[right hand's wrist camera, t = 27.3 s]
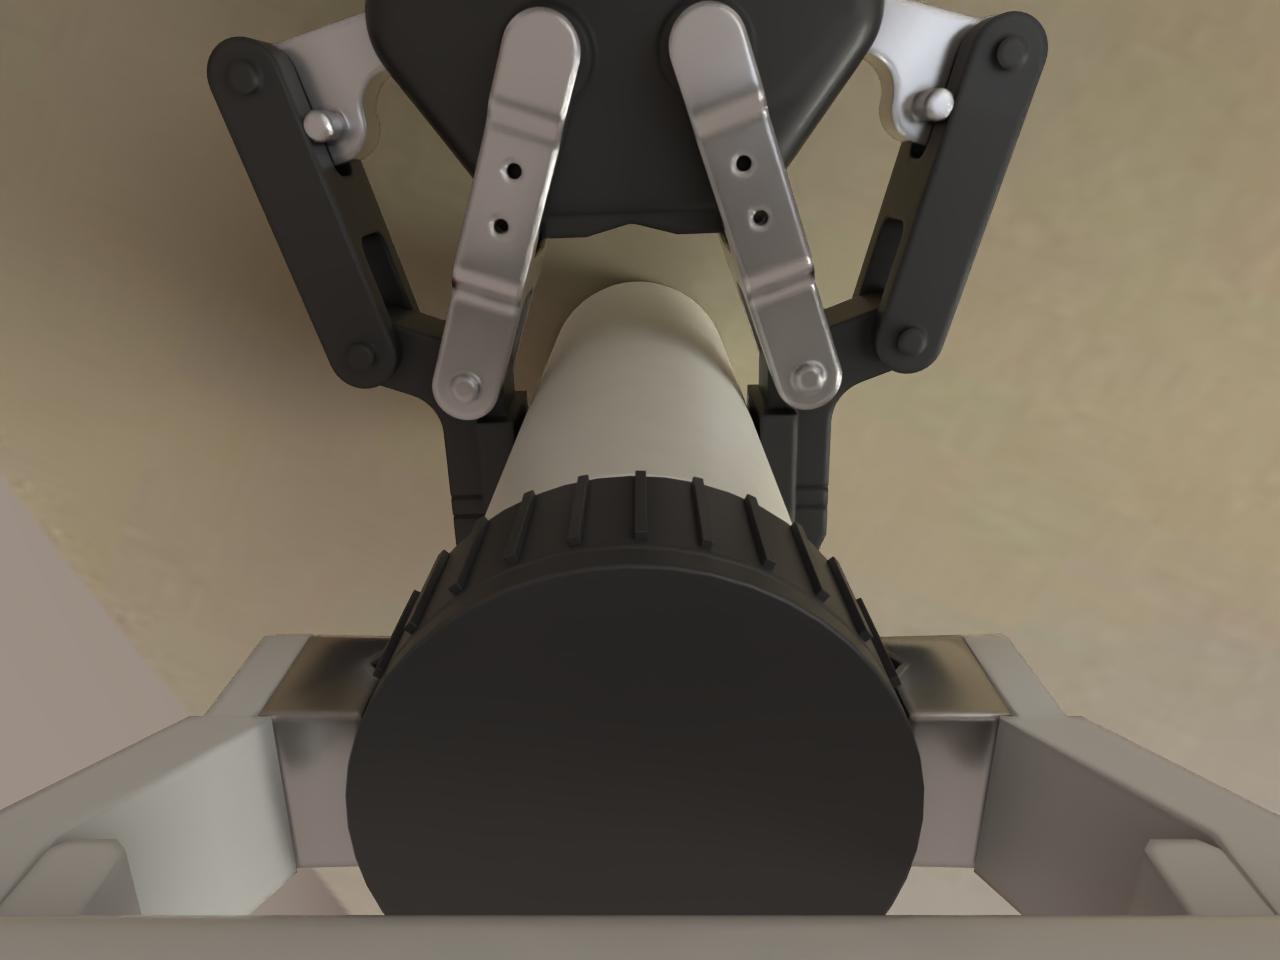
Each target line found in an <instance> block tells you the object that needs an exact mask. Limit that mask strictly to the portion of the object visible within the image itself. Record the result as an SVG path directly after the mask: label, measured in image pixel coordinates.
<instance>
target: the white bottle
mask: <svg viewBox="0 0 1280 960" xmlns="http://www.w3.org/2000/svg"><path fill="white" fill-rule="evenodd" d="M636 470H639V471H646V476H647V477H666V478H672V479H678V480H684V481H690V482H692V479H693V477H698V478H703V481H704V485H707V486H710V487H713V488H717V489H720V490H723V491H726V492H730V493H732V494H734V495H737V496H739V497H741V498H743V499H745V497H746V495H747V494H749V495H752V496H754V497H756V498H757V502H758V505H759V506H761V507H762V508H764V509H766V510H767V511H769V512H771V513H772V514H774V515H775V516H777V517H779V518H780V519H782V520H784V521H785V522H787V523H788V524H789V525H790V526H791V525H792V522H791V519H790V517H789V514H788V512H787V509H786V506H785V504H784V501H783V499H782V496H781V494H780V491H779V488H778V486H777V483H776V481H775V478H774V475H773V473H772V470H771V468H770V465H769V462H768V460H767V457H766V455H765V452H764V449H763V447H762V444H761V442H760V439H759V437H758V434H757V431H756V429H755V426H754V424H753V421H752V418H751V416H750V413H749V411H748V408H747V405H746V403H745V400H744V398H743V395H742V393H741V390H740V387H739V385H738V382H737V380H736V377H735V374H734V372H733V369H732V367H731V364H730V361H729V359H728V356H727V354H726V351H725V349H724V346H723V343H722V341H721V338H720V336H719V333H718V331H717V329H716V327H715V325H714V323H713V322H712V321H711V319H710V318H709V316H708V315H707V314H706V312H705V311H704V310H703V309H702V308H701V307H700V306H699V305H698V304H697V303H695V302H694V301H693V300H692V299H691V298H689V297H688V296H686V295H684V294H683V293H681V292H679V291H677V290H675V289H673V288H671V287H667V286H664V285H661V284H656V283H651V282H627V283H621V284H617V285H613V286H610V287H607V288H605V289H602V290H600V291H598V292H597V293H595V294H593V295H591V296H590V297H589V298H587V299H586V300H584V301H583V302H582V303H581V304H580V305H579V306H578V307H577V308H576V309H575V310H574V311H573V312H572V313H571V314H570V316H569V317H568V318H567V320H566V321H565V323H564V325H563V326H562V328H561V330H560V333H559V335H558V337H557V340H556V342H555V345H554V347H553V350H552V352H551V354H550V357H549V359H548V362H547V364H546V367H545V369H544V372H543V374H542V377H541V379H540V382H539V384H538V386H537V389H536V391H535V394H534V396H533V399H532V401H531V404H530V406H529V409H528V411H527V414H526V416H525V418H524V421H523V423H522V426H521V428H520V431H519V433H518V436H517V438H516V441H515V443H514V446H513V448H512V450H511V453H510V455H509V458H508V460H507V463H506V465H505V468H504V470H503V473H502V475H501V478H500V480H499V482H498V485H497V487H496V490H495V492H494V495H493V497H492V500H491V502H490V505H489V507H488V510H487V512H486V515H485V517H486V518H487V519H488V520H490V519H491V518H493V517H494V516H496V515H497V514H499V513H500V512H502V511H503V510H505V509H507V508H509V507H511V506H513V505H515V504H517V503H519V502H521V501H522V498H523V495H524V493H526V492H528V491H531V490H533V491H534V493H535V495H537V494H539V493H542V492H545V491H548V490H551V489H554V488H557V487H560V486H563V485H567V484H572V483H577V479H578V476H582V475H588V476H589V480H592V479H597V478H609V477H622V476H635V471H636Z"/></svg>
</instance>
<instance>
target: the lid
mask: <svg viewBox="0 0 1280 960" xmlns="http://www.w3.org/2000/svg"><path fill="white" fill-rule="evenodd" d="M372 676H374V677H376V678H378V679H380V681H379V683H378V685H377V687H376V689H375V691H374V693H373V695H372V697H371V699H370V702H369V704H368V706H367V708H366V711H365V713H364V715H363V718H362V720H361V722H360V724H359V727H358V729H357V731H356V734H355V738H354V742H353V746H352V750H351V754H350V758H349V762H348V768H347V780H346V792H345V799H346V811H347V823H348V830H349V834H350V838H351V842H352V846H353V850H354V854H355V858H356V861H357V863H358V865H359V868H360V870H361V873H362V875H363V877H364V880H365V882H366V885H367V887H368V888H369V890H370V892H371V893H372V895H373V897H374V898H375V900H376V902H377V903H378V905H379V907H380V908H381V910H382V912H383V913H384V914H385V915H885V914H886V913H887V911H888V910H889V909H890V907H891V906H892V904H893V903H894V901H895V899H896V897H897V895H898V893H899V892H900V890H901V888H902V886H903V884H904V882H905V881H906V879H907V876H908V873H909V871H910V868H911V865H912V862H913V860H914V857H915V854H916V852H917V848H918V842H919V837H920V832H921V827H922V822H923V812H924V781H923V773H922V766H921V758H920V754H919V751H918V747H917V744H916V741H915V737H914V734H913V731H912V727H911V725H910V722H909V720H908V718H907V716H906V714H905V711H904V709H903V707H902V705H901V703H900V701H899V698H898V696H897V694H896V692H895V690H894V688H895V687H898V686H900V685H902V683H901V681H900V679H899V676H898V674H897V672H896V670H895V668H894V666H893V664H892V662H891V660H890V658H889V655H888V653H887V651H886V649H885V647H884V645H883V643H882V641H881V639H880V636H879V634H878V632H877V630H876V628H875V626H874V624H873V622H872V620H871V617H870V615H869V613H868V611H867V609H866V607H865V605H864V603H863V601H862V599H861V598H859V599H857V600H856V599H855V597H854V594H853V592H852V590H851V588H850V586H849V584H848V581H847V579H846V577H845V575H844V573H843V571H842V568H841V566H840V564H839V562H838V561H837V560H836V559H835V557H832V558H830V559H829V560H827V559H826V558H825V557H824V556H823V555H822V554H821V553H820V552H819V550H818V549H817V548H816V547H815V546H814V545H813V544H812V543H811V542H810V541H809V540H808V539H807V537H806V534H805V532H804V529H803V527H802V526H801V525H800V524H799V523H797V522H796V521H795V522H794V523H793V524H792V525H791V526H790V525H789V524H788V523H787V522H785V521H784V520H782V519H780V518H779V517H777V516H775V515H774V514H772V513H771V512H769V511H767V510H766V509H764V508H762V507H761V506H759V505H758V502H757V498H756V497H754V496H752V495H749V494H747V495H746V497H745V499H743V498H741V497H739V496H737V495H734V494H732V493H730V492H726V491H723V490H720V489H717V488H713V487H710V486H707V485H704V481H703V478H698V477H693V479H692V482H690V481H684V480H678V479H672V478H666V477H647V476H646V471H639V470H636V471H635V476H622V477H609V478H597V479H592V480H589V476H588V475H582V476H578V479H577V483H572V484H567V485H563V486H560V487H557V488H554V489H551V490H548V491H545V492H542V493H539V494H537V495H535V493H534V491H533V490H531V491H528V492H526V493H524V495H523V498H522V501H521V502H519V503H517V504H515V505H513V506H511V507H509V508H507V509H505V510H503V511H502V512H500V513H499V514H497V515H496V516H494V517H493V518H491V519H490V520H488V519H487V518H486V517H485V516H482V517H481V518H479V519H478V520H477V521H476V523H475V525H474V528H473V530H472V532H471V534H470V535H469V536H467V537H466V538H465V539H464V540H463V541H462V542H461V543H459V544H458V545H457V546H456V547H455V548H454V549H453V550H452V552H451V553H450V554H449V553H448V552H447V551H445V550H443V551H442V552H441V553H440V554H439V555H438V557H437V559H436V561H435V563H434V565H433V567H432V570H431V572H430V574H429V576H428V578H427V580H426V582H425V584H424V586H423V588H422V591H421V593H420V592H418V591H416V590H414V591H413V593H412V595H411V597H410V599H409V601H408V603H407V605H406V607H405V609H404V611H403V613H402V615H401V617H400V619H399V621H398V623H397V625H396V627H395V630H394V632H393V634H392V636H391V638H390V640H389V642H388V644H387V646H386V648H385V650H384V652H383V654H382V656H381V658H380V660H379V662H378V664H377V666H376V668H375V670H374V672H373V674H372Z"/></svg>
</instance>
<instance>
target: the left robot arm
mask: <svg viewBox="0 0 1280 960" xmlns="http://www.w3.org/2000/svg"><path fill="white" fill-rule="evenodd" d="M1047 52H1048V42H1047V36H1046V33H1045V31H1044V29H1043V27H1042V25H1041V24H1040V23H1039V21H1038V20H1037V19H1035V18H1034V17H1033V16H1031V15H1029V14H1027V13H1024V12H1018V11H1012V12H1006V13H1003V14H1000V15H991V16H988V17H984V18H974V17H970V16H966V15H963V14H959V13H955V12H952V11H948V10H944V9H941V8H937V7H933V6H930V5H926V4H922V3H919V2H915V1H911V0H366V1H365V12H364V13H361V14H358V15H355V16H352V17H349V18H347V19H344V20H341V21H338V22H335V23H332V24H330V25H327V26H324V27H321V28H318V29H316V30H313V31H310V32H307V33H304V34H301V35H299V36H296V37H293V38H290V39H287V40H284V41H282V42H279V43H267V42H263V41H259V40H255V39H251V38H246V37H231V38H228V39H226V40H224V41H222V42H220V43H219V44H218V45H217V46H216V47H215V48H214V50H213V51H212V53H211V55H210V57H209V60H208V64H207V78H208V83H209V86H210V89H211V91H212V94H213V96H214V98H215V100H216V103H217V105H218V107H219V110H220V112H221V114H222V117H223V119H224V121H225V123H226V126H227V128H228V130H229V133H230V135H231V137H232V139H233V142H234V144H235V146H236V149H237V151H238V153H239V156H240V158H241V160H242V162H243V165H244V167H245V169H246V172H247V174H248V176H249V179H250V181H251V183H252V185H253V188H254V190H255V192H256V195H257V197H258V199H259V201H260V204H261V206H262V208H263V211H264V213H265V215H266V218H267V220H268V222H269V224H270V227H271V229H272V231H273V234H274V236H275V238H276V240H277V243H278V245H279V247H280V250H281V252H282V254H283V257H284V259H285V261H286V263H287V266H288V268H289V270H290V273H291V275H292V277H293V279H294V282H295V284H296V286H297V289H298V291H299V293H300V296H301V298H302V300H303V302H304V305H305V307H306V309H307V312H308V314H309V316H310V319H311V321H312V323H313V325H314V328H315V330H316V332H317V335H318V337H319V339H320V341H321V344H322V346H323V348H324V351H325V353H326V355H327V358H328V360H329V362H330V364H331V367H332V368H333V370H334V372H335V373H336V374H337V376H338V377H339V378H340V379H341V380H343V381H344V382H346V383H347V384H349V385H351V386H354V387H357V388H363V389H367V388H374V387H377V386H379V385H381V386H384V387H387V388H391V389H394V390H397V391H400V392H404V393H407V394H410V395H413V396H415V397H418V398H420V399H421V400H423V401H425V402H426V403H427V404H429V405H430V406H431V407H432V408H433V409H434V411H435V412H436V413H437V415H438V417H439V419H440V420H441V423H442V426H443V431H444V439H445V448H446V456H447V465H448V474H449V483H450V492H451V496H452V500H451V501H452V510H453V515H454V528H455V536H456V544H457V545H458V544H459V543H461V542H462V541H463V540H464V539H465V538H466V537H467V536H469V535H470V534H471V532H472V530H473V528H474V525H475V523H476V521H477V520H478V519H479V518H481V517H482V516H485V515H486V512H487V510H488V507H489V505H490V502H491V500H492V497H493V495H494V492H495V490H496V487H497V485H498V482H499V480H500V478H501V475H502V473H503V470H504V468H505V465H506V463H507V460H508V458H509V455H510V453H511V450H512V448H513V446H514V443H515V441H516V438H517V436H518V433H519V431H520V428H521V426H522V423H523V421H524V418H525V416H526V414H527V411H528V405H527V392H526V391H515V387H514V375H513V370H514V367H515V364H516V360H517V356H518V352H519V348H520V344H521V340H522V336H523V333H524V329H525V325H526V321H527V317H528V313H529V309H530V305H531V301H532V298H533V294H534V290H535V287H536V284H537V281H538V278H539V275H540V272H541V268H542V265H543V261H544V257H545V254H546V250H547V246H548V242H549V238H575V237H588V236H591V235H594V234H598V233H601V232H604V231H607V230H610V229H614V228H617V227H620V226H623V225H626V224H638V225H642V226H646V227H650V228H654V229H658V230H662V231H667V232H671V233H675V234H697V233H718V236H719V239H720V242H721V245H722V248H723V251H724V254H725V257H726V260H727V262H728V265H729V268H730V271H731V273H732V276H733V278H734V281H735V284H736V287H737V290H738V293H739V296H740V299H741V302H742V305H743V308H744V311H745V314H746V317H747V320H748V323H749V326H750V329H751V332H752V335H753V338H754V341H755V344H756V347H757V350H758V353H759V385H748V387H747V408H748V411H749V413H750V416H751V418H752V421H753V424H754V426H755V429H756V431H757V434H758V437H759V439H760V442H761V444H762V447H763V449H764V452H765V455H766V457H767V460H768V462H769V465H770V468H771V470H772V473H773V475H774V478H775V481H776V483H777V486H778V488H779V491H780V494H781V496H782V499H783V501H784V504H785V506H786V509H787V512H788V514H789V517H790V519H791V522H792V524H793V523H794V522H795V521H796V522H797V523H799V524H800V525H801V526H802V527H803V529H804V532H805V534H806V537H807V539H808V540H809V541H810V542H811V543H812V544H813V545H814V546H815V547H816V548H817V549H818V550H819V548H820V546H821V544H822V542H823V540H824V537H825V535H826V526H827V503H828V480H829V457H830V434H831V418H832V413H833V409H834V407H835V405H836V403H837V401H838V400H839V398H840V397H841V396H842V395H843V394H844V393H845V392H846V391H847V390H848V389H849V388H851V387H852V386H854V385H856V384H858V383H860V382H862V381H865V380H868V379H870V378H873V377H876V376H878V375H881V374H884V373H886V372H889V371H892V370H893V371H895V372H898V373H904V374H907V373H915V372H918V371H921V370H923V369H925V368H927V367H928V366H929V365H931V364H932V363H933V362H934V361H935V360H936V358H937V357H938V355H939V354H940V352H941V350H942V347H943V344H944V342H945V339H946V336H947V333H948V331H949V328H950V325H951V322H952V320H953V317H954V314H955V311H956V308H957V306H958V303H959V300H960V297H961V295H962V292H963V289H964V286H965V283H966V281H967V278H968V275H969V272H970V270H971V267H972V264H973V261H974V258H975V256H976V253H977V250H978V247H979V245H980V242H981V239H982V236H983V234H984V231H985V228H986V225H987V222H988V220H989V217H990V214H991V211H992V209H993V206H994V203H995V200H996V197H997V195H998V192H999V189H1000V186H1001V184H1002V181H1003V178H1004V175H1005V172H1006V170H1007V167H1008V164H1009V161H1010V159H1011V156H1012V153H1013V150H1014V148H1015V145H1016V142H1017V139H1018V136H1019V134H1020V131H1021V128H1022V125H1023V123H1024V120H1025V117H1026V114H1027V111H1028V109H1029V106H1030V103H1031V100H1032V98H1033V95H1034V92H1035V89H1036V86H1037V84H1038V81H1039V78H1040V75H1041V73H1042V70H1043V67H1044V64H1045V61H1046V58H1047ZM862 60H865V61H867V62H868V63H869V64H870V65H871V66H872V67H873V68H874V69H875V71H876V72H877V74H878V76H879V79H880V83H881V100H880V106H879V115H880V120H881V123H882V126H883V128H884V129H885V131H886V132H887V133H888V134H889V135H890V136H891V137H892V138H894V139H895V140H897V141H900V142H902V143H901V146H900V150H899V153H898V156H897V159H896V162H895V165H894V168H893V171H892V175H891V178H890V181H889V184H888V187H887V190H886V193H885V197H884V200H883V203H882V206H881V209H880V212H879V215H878V219H877V222H876V225H875V228H874V231H873V234H872V237H871V241H870V244H869V247H868V250H867V253H866V256H865V259H864V262H863V266H862V269H861V272H860V275H859V278H858V281H857V284H856V288H855V291H854V294H853V297H852V299H850V300H847V301H845V302H842V303H840V304H837V305H834V306H832V307H829V308H827V309H823V306H822V303H821V299H820V296H819V293H818V289H817V286H816V282H815V277H814V265H813V260H812V256H811V253H810V249H809V246H808V243H807V239H806V236H805V232H804V229H803V226H802V222H801V219H800V216H799V212H798V209H797V206H796V202H795V199H794V196H793V192H792V189H791V186H790V182H789V179H788V176H787V172H786V169H787V167H788V166H789V165H790V163H791V162H792V160H793V159H794V157H795V156H796V155H797V153H798V152H799V150H800V149H801V147H802V146H803V144H804V143H805V142H806V140H807V139H808V137H809V136H810V134H811V133H812V132H813V130H814V129H815V127H816V126H817V124H818V123H819V121H820V120H821V119H822V117H823V116H824V114H825V113H826V111H827V110H828V109H829V107H830V106H831V104H832V103H833V101H834V100H835V98H836V97H837V96H838V94H839V93H840V91H841V90H842V88H843V87H844V86H845V84H846V83H847V81H848V80H849V78H850V77H851V76H852V74H853V73H854V71H855V70H856V68H857V67H858V65H859V64H860V63H861V61H862ZM390 77H393V79H394V80H395V81H396V82H397V84H398V85H399V86H400V87H401V89H402V90H403V91H404V92H405V94H406V95H407V96H408V97H409V99H410V100H411V101H412V102H413V104H414V105H415V106H416V107H417V109H418V110H419V111H420V112H421V114H422V115H423V116H424V117H425V119H426V120H427V121H428V122H429V124H430V125H431V126H432V127H433V129H434V130H435V131H436V132H437V134H438V135H439V136H440V137H441V139H442V140H443V141H444V142H445V144H446V145H447V146H448V147H449V149H450V150H451V151H452V152H453V154H454V155H455V156H456V158H457V159H458V160H459V161H460V163H461V164H462V165H463V166H464V168H465V169H466V170H467V171H468V173H469V174H470V175H471V176H472V178H473V183H472V187H471V192H470V196H469V201H468V205H467V210H466V214H465V219H464V223H463V228H462V232H461V236H460V241H459V245H458V250H457V254H456V259H455V263H454V268H453V275H452V286H453V290H452V297H451V301H450V306H449V310H448V315H447V319H446V321H444V320H441V319H438V318H435V317H432V316H429V315H426V314H423V313H420V311H419V308H418V306H417V303H416V300H415V298H414V295H413V293H412V290H411V288H410V285H409V283H408V280H407V278H406V275H405V272H404V270H403V267H402V265H401V262H400V260H399V257H398V255H397V252H396V249H395V247H394V244H393V242H392V239H391V237H390V234H389V232H388V229H387V227H386V224H385V221H384V219H383V216H382V214H381V211H380V209H379V206H378V204H377V201H376V198H375V196H374V193H373V191H372V188H371V186H370V183H369V181H368V178H367V175H366V173H365V170H364V168H363V165H362V163H361V160H362V159H364V158H366V157H367V156H369V155H370V154H371V153H372V152H373V150H374V149H375V148H376V146H377V143H378V141H379V137H380V124H379V120H378V115H377V108H376V104H377V97H378V93H379V91H380V89H381V87H382V86H383V84H384V83H385V82H386V81H387V80H388V79H389V78H390Z"/></svg>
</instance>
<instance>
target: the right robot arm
mask: <svg viewBox="0 0 1280 960" xmlns="http://www.w3.org/2000/svg"><path fill="white" fill-rule="evenodd" d="M390 638H391V636H355V635H316V636H315V635H313V634H286V635H270V636H265V637H264V638H263V639H262V640H261V641H260V642H259V644H258V645H257V646H256V648H255V649H254V650H253V652H252V653H251V654H250V656H249V657H248V658H247V660H246V661H245V662H244V664H243V665H242V666H241V668H240V669H239V670H238V672H237V673H236V674H235V676H234V677H233V678H232V679H231V681H230V682H229V683H228V685H227V686H226V687H225V689H224V690H223V691H222V693H221V694H220V695H219V697H218V698H217V699H216V701H215V702H214V703H213V705H212V706H211V707H210V709H209V710H208V711H207V713H206V714H205V715H204V716H189V717H187V718H185V719H183V720H181V721H179V722H177V723H175V724H173V725H171V726H169V727H167V728H165V729H163V730H161V731H159V732H157V733H155V734H153V735H151V736H149V737H147V738H145V739H143V740H141V741H139V742H137V743H135V744H133V745H131V746H129V747H127V748H125V749H123V750H121V751H119V752H117V753H115V754H113V755H111V756H109V757H107V758H105V759H103V760H101V761H99V762H97V763H95V764H92V765H90V766H89V767H86V768H84V769H83V770H80V771H78V772H76V773H74V774H72V775H70V776H68V777H66V778H64V779H62V780H60V781H58V782H56V783H54V784H52V785H50V786H48V787H46V788H44V789H42V790H40V791H38V792H36V793H34V794H32V795H30V796H28V797H26V798H24V799H22V800H20V801H18V802H16V803H14V804H12V805H10V806H8V807H6V808H4V809H2V810H0V960H1280V816H1279V815H1277V814H1275V813H1273V812H1271V811H1269V810H1267V809H1265V808H1263V807H1261V806H1259V805H1257V804H1255V803H1253V802H1251V801H1249V800H1247V799H1245V798H1243V797H1241V796H1239V795H1237V794H1235V793H1233V792H1231V791H1229V790H1227V789H1225V788H1223V787H1221V786H1219V785H1217V784H1215V783H1213V782H1211V781H1209V780H1207V779H1205V778H1203V777H1201V776H1199V775H1197V774H1195V773H1193V772H1191V771H1189V770H1187V769H1185V768H1183V767H1181V766H1179V765H1177V764H1175V763H1173V762H1171V761H1169V760H1167V759H1165V758H1163V757H1161V756H1159V755H1157V754H1155V753H1153V752H1151V751H1149V750H1147V749H1145V748H1143V747H1141V746H1139V745H1137V744H1135V743H1133V742H1131V741H1129V740H1127V739H1125V738H1123V737H1121V736H1119V735H1117V734H1116V733H1114V732H1112V731H1110V730H1108V729H1106V728H1104V727H1102V726H1100V725H1098V724H1096V723H1094V722H1092V721H1090V720H1088V719H1086V718H1084V717H1082V716H1067V715H1066V714H1065V713H1064V711H1063V710H1062V709H1061V707H1060V706H1059V705H1058V703H1057V702H1056V701H1055V699H1054V698H1053V697H1052V695H1051V694H1050V693H1049V691H1048V690H1047V689H1046V687H1045V686H1044V685H1043V683H1042V682H1041V681H1040V679H1039V678H1038V677H1037V675H1036V674H1035V673H1034V671H1033V670H1032V668H1031V667H1030V666H1029V664H1028V663H1027V662H1026V660H1025V659H1024V658H1023V656H1022V655H1021V654H1020V652H1019V651H1018V650H1017V648H1016V647H1015V646H1014V644H1013V643H1012V642H1011V640H1010V639H1009V638H1008V637H1006V636H1004V635H1002V634H980V635H940V636H899V637H880V639H881V641H882V643H883V645H884V647H885V649H886V651H887V653H888V655H889V658H890V660H891V662H892V664H893V666H894V668H895V670H896V672H897V674H898V676H899V679H900V681H901V683H902V685H900V686H898V687H895V688H894V690H895V692H896V694H897V696H898V698H899V701H900V703H901V705H902V707H903V709H904V711H905V714H906V716H907V718H908V720H909V722H910V725H911V727H912V731H913V734H914V737H915V741H916V744H917V747H918V751H919V754H920V758H921V766H922V773H923V781H924V812H923V822H922V827H921V832H920V837H919V842H918V848H917V852H916V854H915V857H914V860H913V862H912V865H911V866H924V867H961V868H975V869H974V872H975V873H976V874H977V875H978V876H979V877H981V878H982V879H983V880H984V881H985V882H986V883H987V884H988V885H989V886H991V887H992V888H993V889H994V890H995V891H996V892H997V893H998V894H999V895H1001V896H1002V897H1003V898H1004V899H1005V900H1006V901H1007V902H1008V903H1009V904H1011V905H1012V906H1013V907H1014V908H1015V909H1016V910H1017V911H1018V912H1019V913H1020V914H1022V915H250V914H251V913H252V912H253V911H254V910H255V909H256V908H258V907H259V906H260V905H261V904H262V903H263V902H264V901H265V900H267V899H268V898H269V897H270V896H271V895H272V894H273V893H274V892H276V891H277V890H278V889H279V888H280V887H281V886H282V885H283V884H285V883H286V882H287V881H288V880H289V879H290V878H291V877H292V876H294V875H295V874H296V873H297V868H310V867H345V866H359V865H358V863H357V861H356V858H355V854H354V850H353V846H352V842H351V838H350V834H349V830H348V823H347V811H346V799H345V792H346V780H347V768H348V762H349V758H350V754H351V750H352V746H353V742H354V738H355V734H356V731H357V729H358V727H359V724H360V722H361V720H362V718H363V715H364V713H365V711H366V708H367V706H368V704H369V702H370V699H371V697H372V695H373V693H374V691H375V689H376V687H377V685H378V683H379V681H380V679H378V678H376V677H374V676H372V674H373V672H374V670H375V668H376V666H377V664H378V662H379V660H380V658H381V656H382V654H383V652H384V650H385V648H386V646H387V644H388V642H389V640H390Z"/></svg>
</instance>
